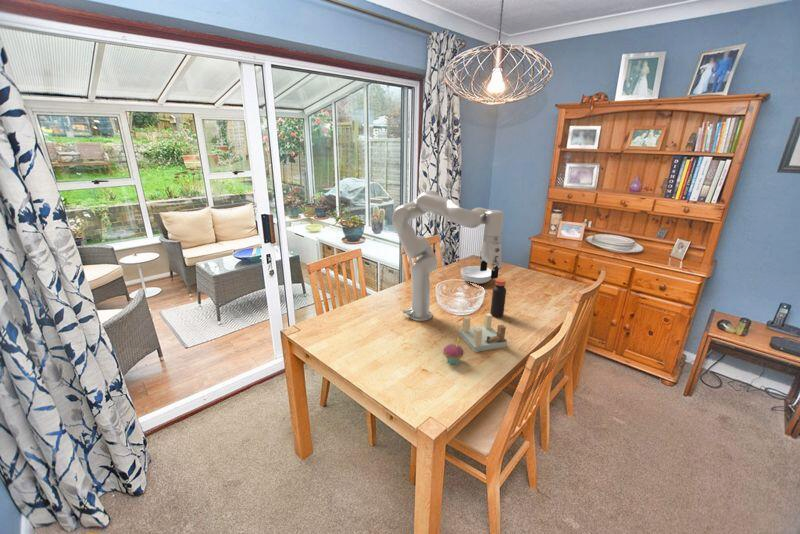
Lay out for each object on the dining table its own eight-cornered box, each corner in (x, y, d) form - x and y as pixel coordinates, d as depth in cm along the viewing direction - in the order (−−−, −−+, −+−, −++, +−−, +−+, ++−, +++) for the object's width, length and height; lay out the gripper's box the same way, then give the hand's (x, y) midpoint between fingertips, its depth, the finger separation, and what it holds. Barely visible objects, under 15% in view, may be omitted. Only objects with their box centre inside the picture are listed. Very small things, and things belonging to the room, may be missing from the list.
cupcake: (460, 355, 153) (462, 331, 149) (464, 367, 145) (466, 342, 141) (441, 355, 152) (442, 331, 148) (444, 367, 144) (445, 342, 140)
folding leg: (488, 343, 157) (489, 329, 154) (485, 340, 159) (486, 326, 157) (504, 341, 159) (505, 327, 156) (501, 338, 161) (502, 324, 158)
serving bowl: (455, 277, 239) (455, 267, 237) (482, 273, 245) (483, 264, 242) (469, 288, 220) (470, 278, 218) (498, 285, 226) (499, 275, 224)
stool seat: (474, 352, 155) (476, 333, 152) (458, 333, 169) (460, 316, 166) (506, 346, 159) (508, 327, 156) (488, 329, 174) (490, 311, 170)
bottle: (504, 313, 189) (509, 279, 182) (501, 318, 184) (505, 283, 177) (492, 310, 192) (496, 276, 185) (488, 315, 187) (492, 281, 180)
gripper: (510, 243, 148) (506, 280, 154) (489, 233, 163) (486, 267, 169) (494, 244, 146) (490, 282, 152) (475, 234, 162) (472, 268, 167)
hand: (488, 274), depth 161 cm, fingers open, 9 cm apart
